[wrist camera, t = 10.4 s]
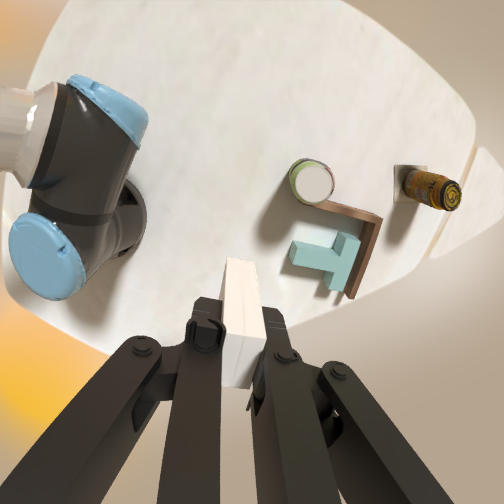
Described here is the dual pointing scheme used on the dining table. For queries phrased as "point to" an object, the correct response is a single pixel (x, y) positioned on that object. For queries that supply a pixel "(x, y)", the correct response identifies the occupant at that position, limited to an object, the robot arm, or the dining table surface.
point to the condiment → (425, 188)
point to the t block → (328, 259)
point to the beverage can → (311, 181)
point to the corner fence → (366, 239)
